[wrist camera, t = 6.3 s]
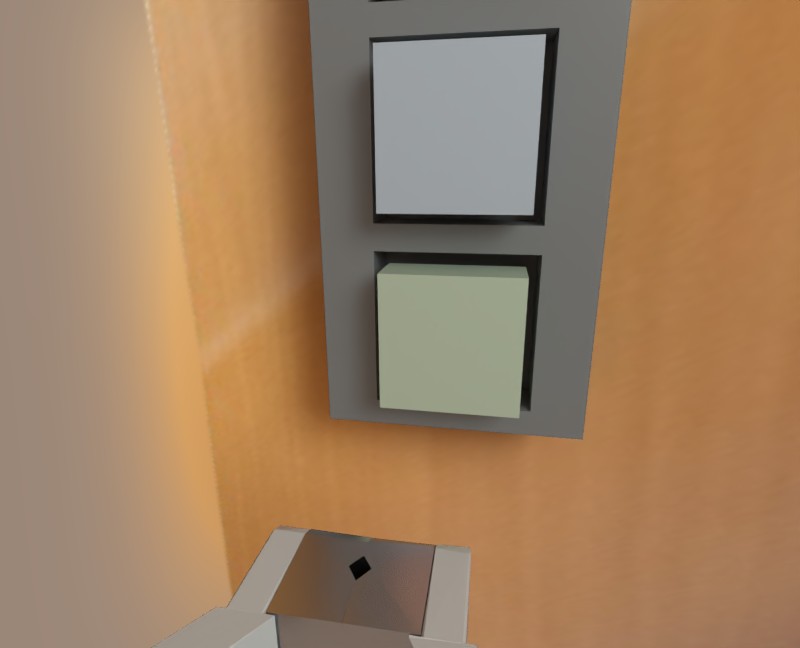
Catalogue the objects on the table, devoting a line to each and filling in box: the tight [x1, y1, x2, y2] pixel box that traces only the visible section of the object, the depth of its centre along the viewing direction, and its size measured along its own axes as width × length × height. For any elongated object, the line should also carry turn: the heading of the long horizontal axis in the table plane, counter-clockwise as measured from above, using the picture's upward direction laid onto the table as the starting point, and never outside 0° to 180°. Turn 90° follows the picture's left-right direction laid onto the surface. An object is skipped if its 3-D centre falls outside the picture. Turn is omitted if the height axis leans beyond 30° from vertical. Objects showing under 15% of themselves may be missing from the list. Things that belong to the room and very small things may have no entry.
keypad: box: [309, 0, 632, 440], centre depth 18 cm, size 29×10×4 cm, turn 0°
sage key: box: [377, 263, 529, 418], centre depth 19 cm, size 5×5×2 cm
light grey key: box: [373, 34, 546, 215], centre depth 17 cm, size 5×5×2 cm
